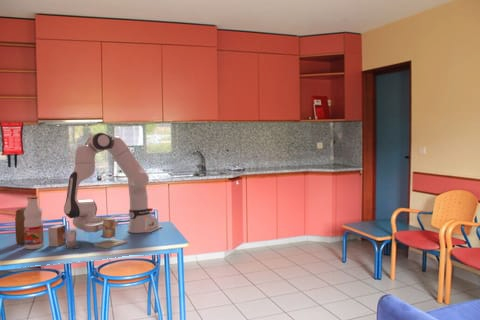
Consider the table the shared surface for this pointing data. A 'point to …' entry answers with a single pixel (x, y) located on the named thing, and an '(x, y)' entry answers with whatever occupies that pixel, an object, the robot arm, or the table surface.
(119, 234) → the table surface
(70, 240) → the metal can
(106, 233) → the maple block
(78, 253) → the table surface
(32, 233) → the fruit juice
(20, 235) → the block
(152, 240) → the table surface
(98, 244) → the beige flat square plate
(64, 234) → the small box
